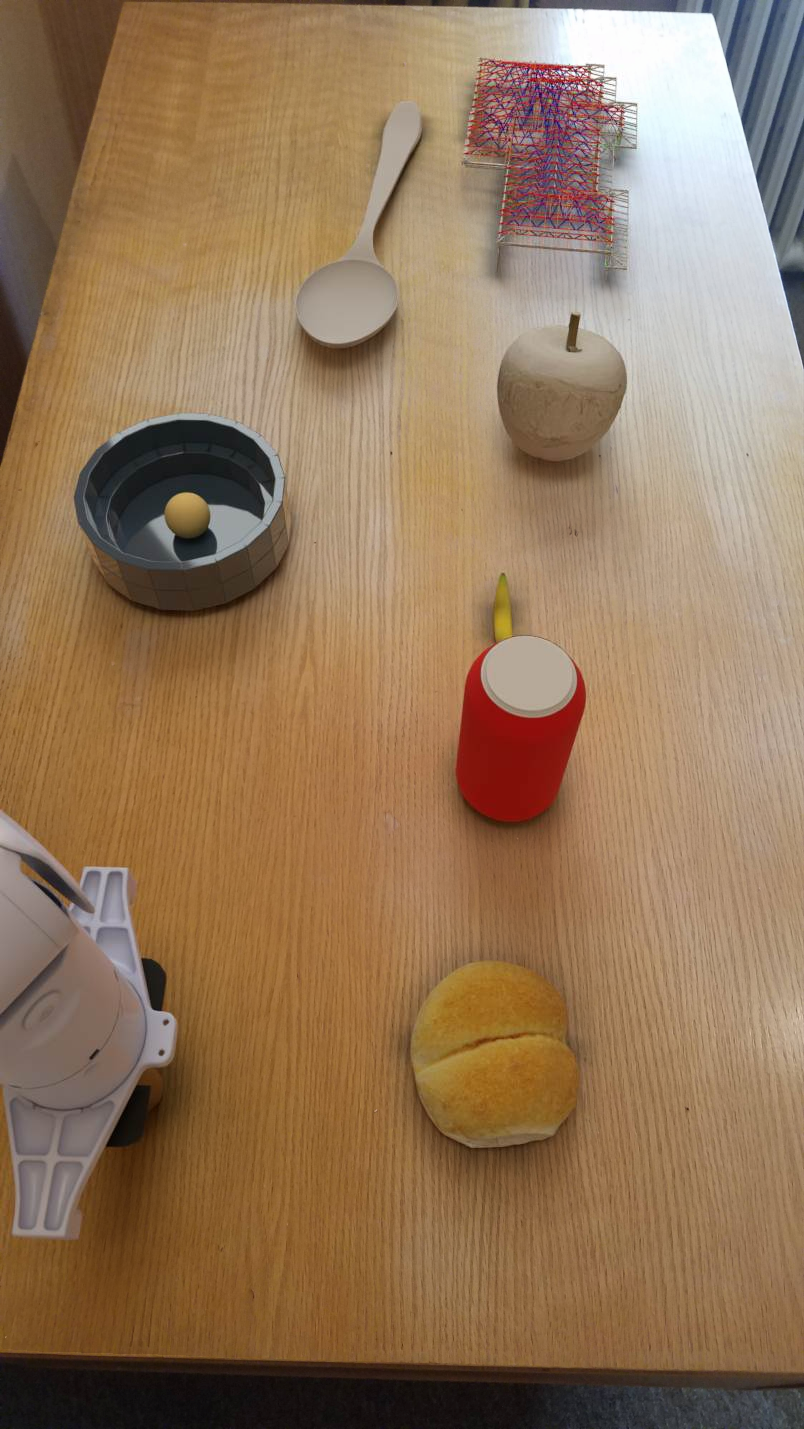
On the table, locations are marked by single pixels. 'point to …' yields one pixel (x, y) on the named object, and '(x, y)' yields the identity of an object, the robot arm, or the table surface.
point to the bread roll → (494, 1056)
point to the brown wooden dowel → (152, 1086)
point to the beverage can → (518, 727)
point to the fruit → (502, 611)
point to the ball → (187, 515)
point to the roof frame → (595, 165)
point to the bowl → (168, 461)
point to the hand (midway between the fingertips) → (127, 1079)
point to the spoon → (361, 255)
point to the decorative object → (560, 390)
